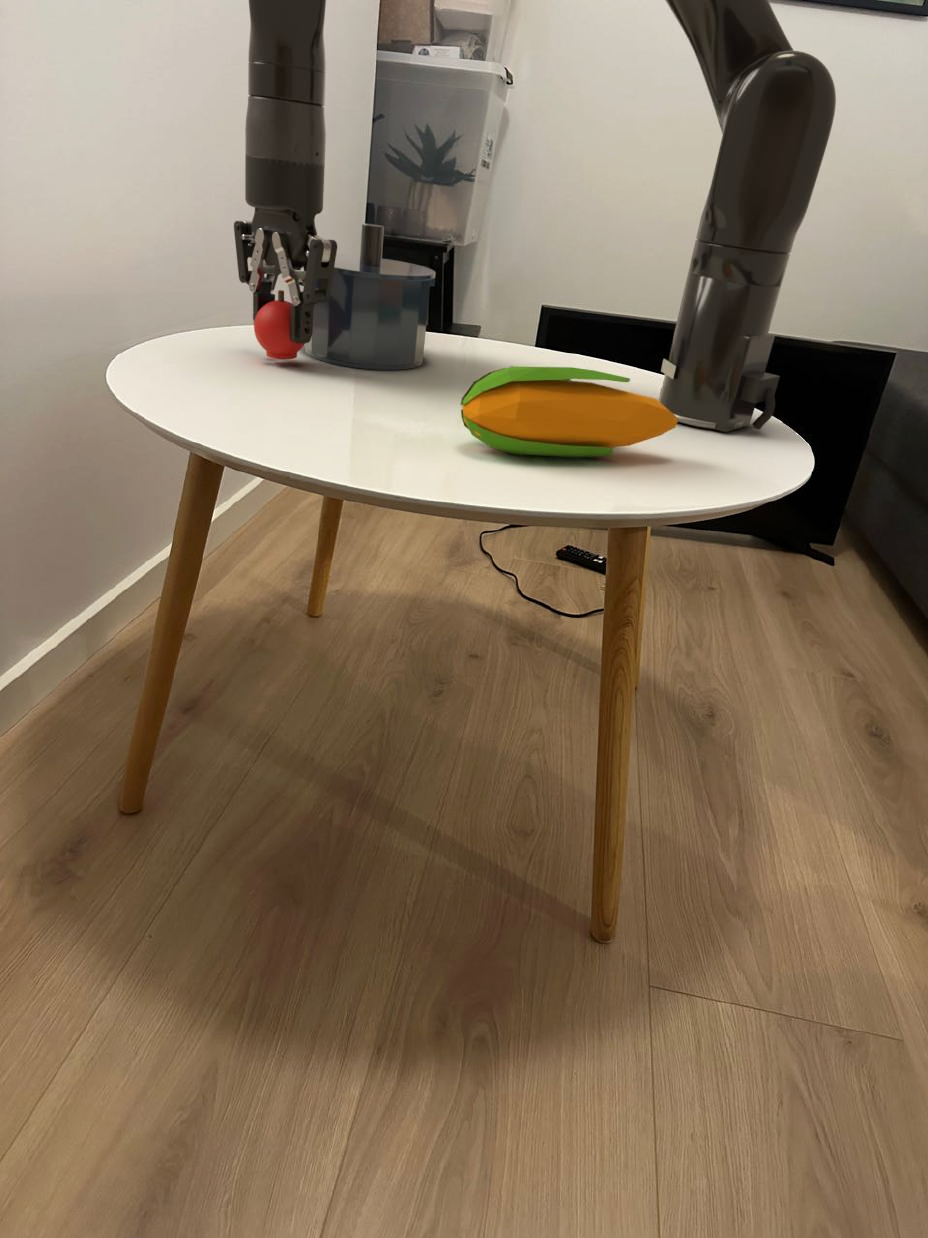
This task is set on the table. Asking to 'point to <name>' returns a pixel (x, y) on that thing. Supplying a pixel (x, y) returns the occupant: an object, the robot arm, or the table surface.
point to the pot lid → (378, 260)
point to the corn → (559, 412)
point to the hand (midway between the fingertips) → (281, 335)
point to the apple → (276, 329)
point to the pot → (371, 323)
